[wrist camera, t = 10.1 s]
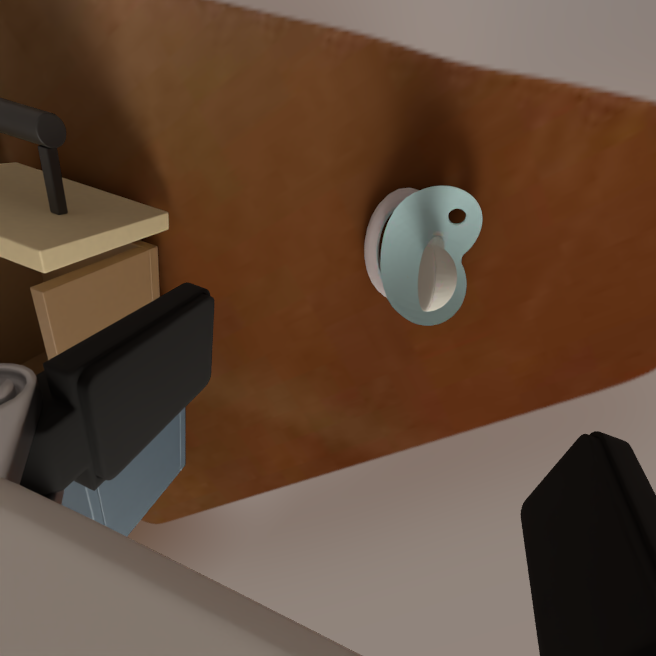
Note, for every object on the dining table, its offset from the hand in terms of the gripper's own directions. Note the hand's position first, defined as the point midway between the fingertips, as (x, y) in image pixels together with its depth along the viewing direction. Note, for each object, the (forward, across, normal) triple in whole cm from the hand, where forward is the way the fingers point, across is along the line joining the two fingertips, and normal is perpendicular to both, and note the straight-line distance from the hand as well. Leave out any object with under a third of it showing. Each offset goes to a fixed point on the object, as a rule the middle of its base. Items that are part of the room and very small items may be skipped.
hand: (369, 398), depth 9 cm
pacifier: (+14, 0, 0) cm, 14 cm away
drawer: (+13, +22, +8) cm, 27 cm away
